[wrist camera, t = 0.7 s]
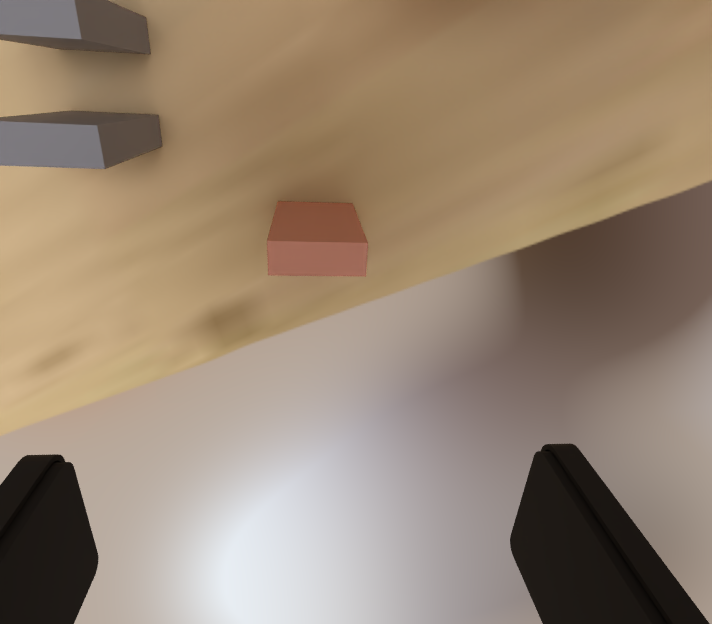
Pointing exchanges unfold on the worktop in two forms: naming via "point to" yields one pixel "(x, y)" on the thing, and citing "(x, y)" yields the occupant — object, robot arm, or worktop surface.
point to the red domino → (316, 240)
